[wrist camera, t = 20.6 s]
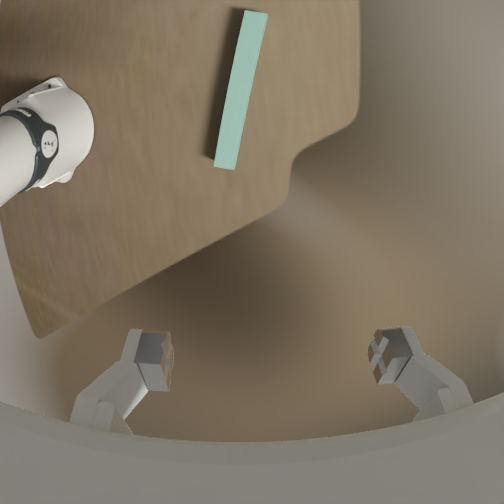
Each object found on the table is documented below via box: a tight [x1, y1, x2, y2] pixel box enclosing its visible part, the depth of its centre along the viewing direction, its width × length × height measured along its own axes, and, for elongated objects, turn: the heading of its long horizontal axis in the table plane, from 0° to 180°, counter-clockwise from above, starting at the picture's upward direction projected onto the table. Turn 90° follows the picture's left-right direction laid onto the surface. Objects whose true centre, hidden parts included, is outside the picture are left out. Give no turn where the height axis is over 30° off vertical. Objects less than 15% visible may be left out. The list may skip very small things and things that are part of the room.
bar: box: [214, 10, 268, 170], centre depth 39 cm, size 23×3×3 cm, turn 169°
